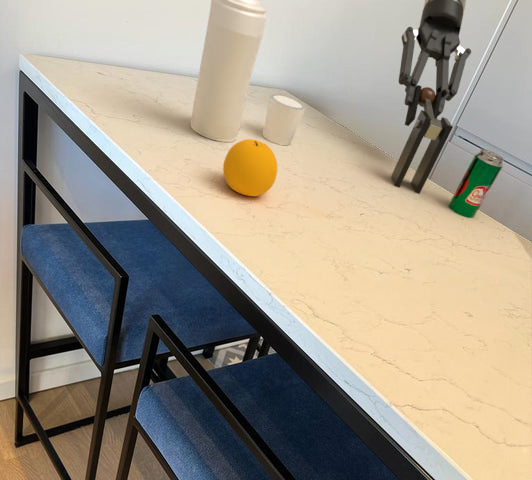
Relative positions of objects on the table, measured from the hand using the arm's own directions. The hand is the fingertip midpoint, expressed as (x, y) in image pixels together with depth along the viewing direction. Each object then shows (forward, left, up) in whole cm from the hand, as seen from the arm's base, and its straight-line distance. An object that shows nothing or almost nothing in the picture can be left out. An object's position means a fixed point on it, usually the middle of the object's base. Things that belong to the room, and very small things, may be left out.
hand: (420, 125), depth 105 cm
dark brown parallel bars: (-5, +5, -10) cm, 12 cm away
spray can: (+19, +32, -11) cm, 38 cm away
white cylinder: (+17, +18, -11) cm, 27 cm away
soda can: (-15, 0, -11) cm, 18 cm away
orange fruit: (0, +40, -11) cm, 41 cm away
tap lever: (-1, +1, +1) cm, 1 cm away
